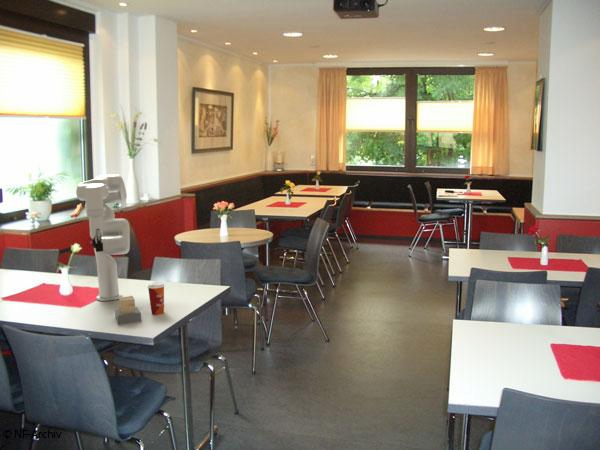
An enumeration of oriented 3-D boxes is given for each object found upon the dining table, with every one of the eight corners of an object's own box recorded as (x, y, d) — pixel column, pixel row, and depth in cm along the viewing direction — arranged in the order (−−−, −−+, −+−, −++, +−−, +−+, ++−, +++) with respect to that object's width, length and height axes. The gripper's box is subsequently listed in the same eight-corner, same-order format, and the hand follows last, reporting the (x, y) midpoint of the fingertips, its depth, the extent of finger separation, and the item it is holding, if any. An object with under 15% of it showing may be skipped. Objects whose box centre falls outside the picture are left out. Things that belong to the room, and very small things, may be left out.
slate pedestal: (115, 318, 286) (114, 309, 285) (137, 315, 290) (137, 306, 289) (118, 324, 277) (117, 315, 276) (141, 321, 281) (140, 312, 280)
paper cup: (162, 315, 288) (160, 285, 286) (146, 315, 289) (144, 285, 287) (169, 310, 295) (167, 281, 293) (153, 310, 297) (151, 281, 295)
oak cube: (119, 310, 284) (118, 297, 284) (133, 308, 287) (132, 295, 286) (121, 313, 279) (120, 300, 278) (135, 311, 281) (134, 298, 280)
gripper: (84, 211, 297) (87, 247, 300) (88, 216, 281) (92, 253, 284) (101, 209, 300) (104, 245, 303) (106, 214, 284) (109, 252, 287)
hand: (98, 249), depth 293 cm, fingers open, 9 cm apart
